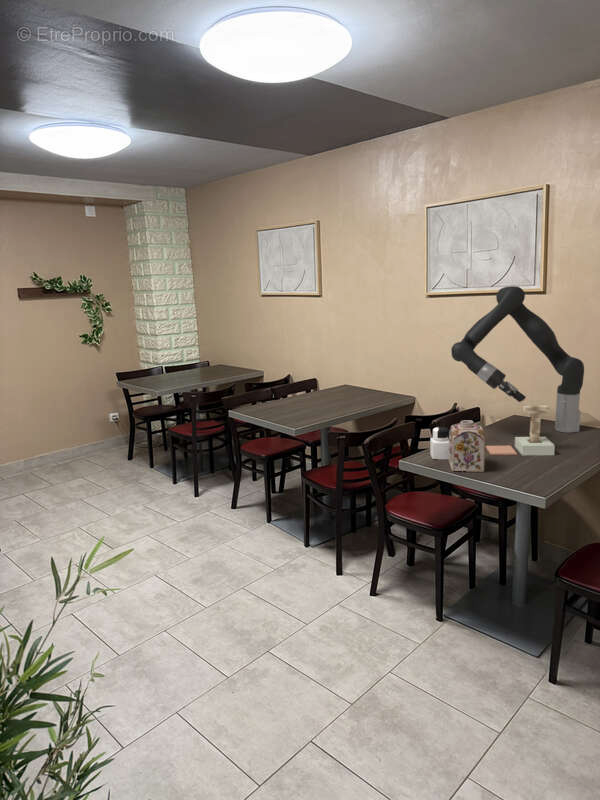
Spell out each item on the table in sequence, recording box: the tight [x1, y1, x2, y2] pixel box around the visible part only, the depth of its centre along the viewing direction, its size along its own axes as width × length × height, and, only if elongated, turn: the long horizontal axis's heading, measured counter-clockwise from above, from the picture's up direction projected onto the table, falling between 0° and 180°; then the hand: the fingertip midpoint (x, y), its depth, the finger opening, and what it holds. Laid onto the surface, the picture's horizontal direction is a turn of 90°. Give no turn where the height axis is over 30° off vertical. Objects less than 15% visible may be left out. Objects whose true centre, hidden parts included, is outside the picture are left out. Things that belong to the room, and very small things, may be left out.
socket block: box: [514, 436, 556, 456], centre depth 225 cm, size 12×12×4 cm
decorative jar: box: [448, 419, 486, 473], centre depth 208 cm, size 12×12×18 cm
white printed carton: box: [429, 426, 449, 460], centre depth 222 cm, size 7×7×12 cm
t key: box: [522, 404, 550, 443], centre depth 223 cm, size 9×3×18 cm, turn 83°
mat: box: [485, 445, 517, 456], centre depth 227 cm, size 10×10×1 cm
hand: (523, 399), depth 227 cm, fingers open, 8 cm apart
